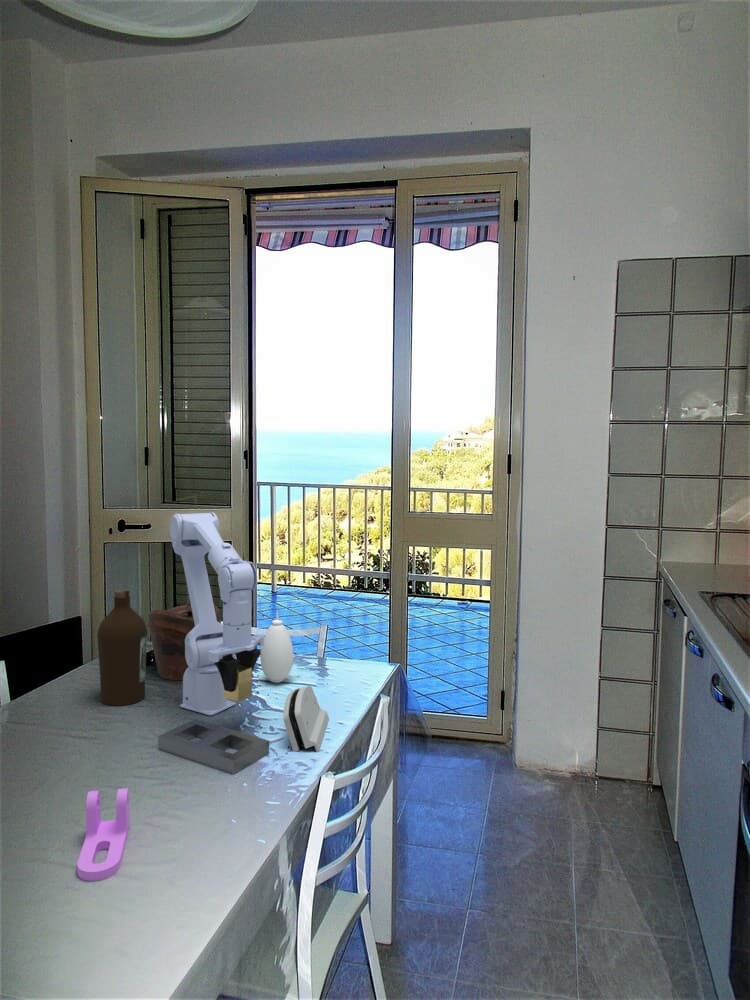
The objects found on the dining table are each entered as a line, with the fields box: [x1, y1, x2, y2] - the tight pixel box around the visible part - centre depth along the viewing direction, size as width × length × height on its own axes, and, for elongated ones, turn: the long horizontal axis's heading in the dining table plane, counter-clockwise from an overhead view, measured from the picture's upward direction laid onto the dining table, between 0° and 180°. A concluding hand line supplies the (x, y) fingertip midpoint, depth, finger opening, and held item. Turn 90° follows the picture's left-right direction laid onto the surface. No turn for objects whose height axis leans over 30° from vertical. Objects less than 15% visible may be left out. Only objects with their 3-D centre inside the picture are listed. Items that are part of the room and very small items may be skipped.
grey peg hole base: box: [157, 718, 270, 775], centre depth 133 cm, size 19×10×2 cm, turn 60°
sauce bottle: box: [259, 610, 294, 684], centre depth 171 cm, size 8×8×18 cm
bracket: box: [76, 787, 131, 882], centre depth 100 cm, size 13×6×7 cm, turn 13°
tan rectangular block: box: [223, 665, 253, 703], centre depth 143 cm, size 4×4×6 cm
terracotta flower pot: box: [147, 602, 222, 681], centre depth 178 cm, size 18×20×18 cm
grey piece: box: [282, 685, 330, 753], centre depth 142 cm, size 17×5×10 cm, turn 177°
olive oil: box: [96, 588, 148, 707], centre depth 158 cm, size 11×11×25 cm
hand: (236, 687), depth 143 cm, fingers closed on tan rectangular block, 4 cm apart
